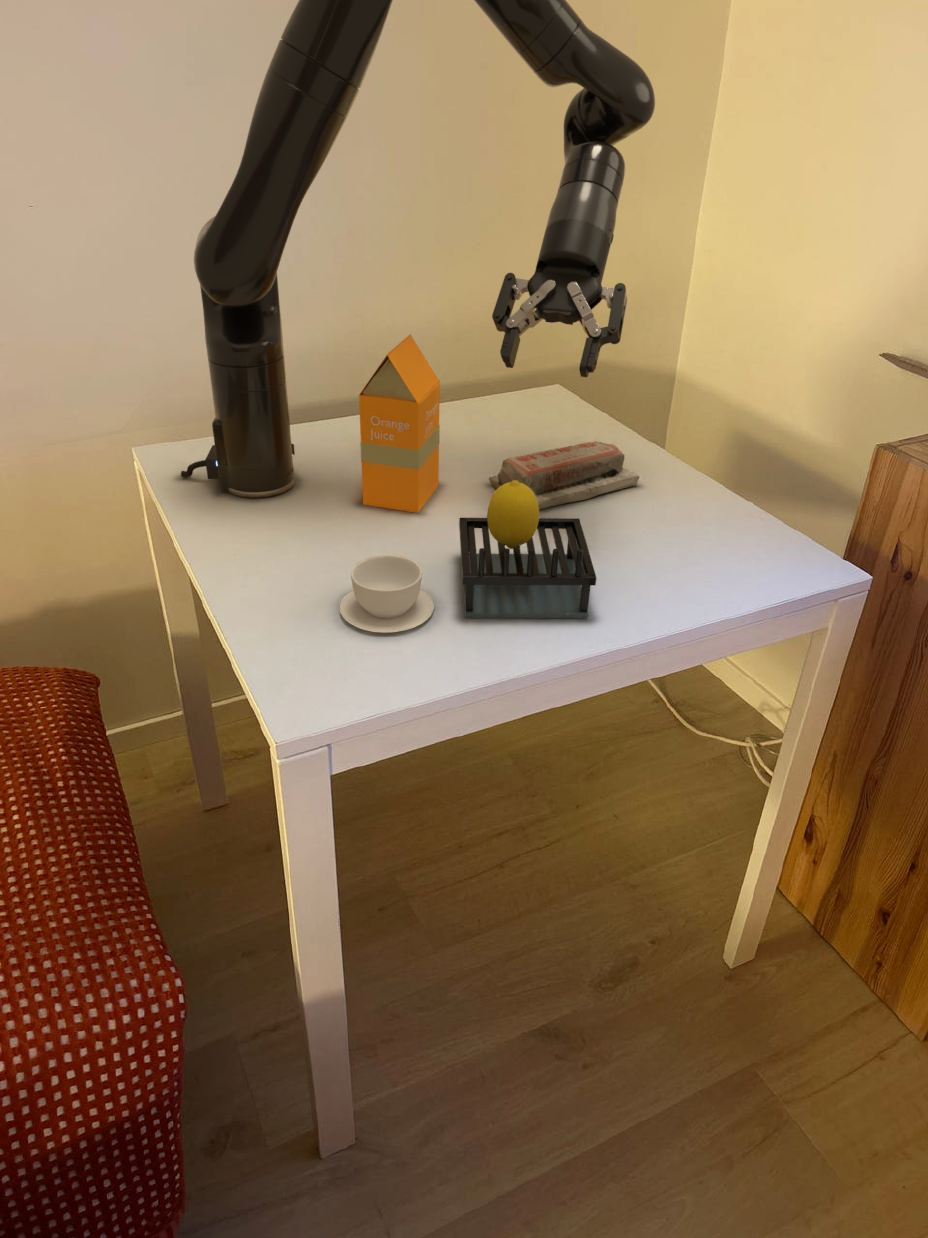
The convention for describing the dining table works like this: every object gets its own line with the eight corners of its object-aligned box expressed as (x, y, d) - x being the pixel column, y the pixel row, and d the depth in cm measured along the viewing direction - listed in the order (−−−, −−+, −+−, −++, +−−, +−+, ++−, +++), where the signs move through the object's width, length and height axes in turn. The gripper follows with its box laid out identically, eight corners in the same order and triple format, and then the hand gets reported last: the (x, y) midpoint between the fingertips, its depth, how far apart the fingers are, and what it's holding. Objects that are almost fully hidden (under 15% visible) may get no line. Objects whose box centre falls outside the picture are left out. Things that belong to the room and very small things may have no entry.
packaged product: (531, 480, 116) (489, 451, 123) (529, 515, 118) (488, 485, 125) (643, 453, 123) (598, 428, 130) (639, 486, 126) (594, 460, 133)
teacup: (451, 618, 98) (452, 580, 95) (367, 646, 93) (366, 607, 91) (404, 576, 105) (403, 540, 102) (324, 600, 100) (321, 563, 97)
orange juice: (439, 485, 125) (441, 336, 114) (419, 513, 118) (418, 357, 107) (384, 477, 127) (381, 329, 116) (361, 504, 119) (355, 350, 108)
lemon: (542, 541, 102) (547, 474, 98) (528, 564, 98) (533, 496, 94) (494, 532, 104) (497, 466, 99) (479, 555, 99) (481, 487, 95)
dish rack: (461, 619, 98) (463, 551, 93) (458, 556, 109) (459, 493, 104) (591, 619, 98) (599, 551, 94) (575, 557, 109) (582, 494, 105)
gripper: (511, 211, 102) (476, 345, 100) (639, 220, 99) (606, 360, 96) (523, 251, 110) (490, 377, 107) (642, 261, 106) (612, 392, 103)
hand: (545, 369), depth 101 cm, fingers open, 8 cm apart
